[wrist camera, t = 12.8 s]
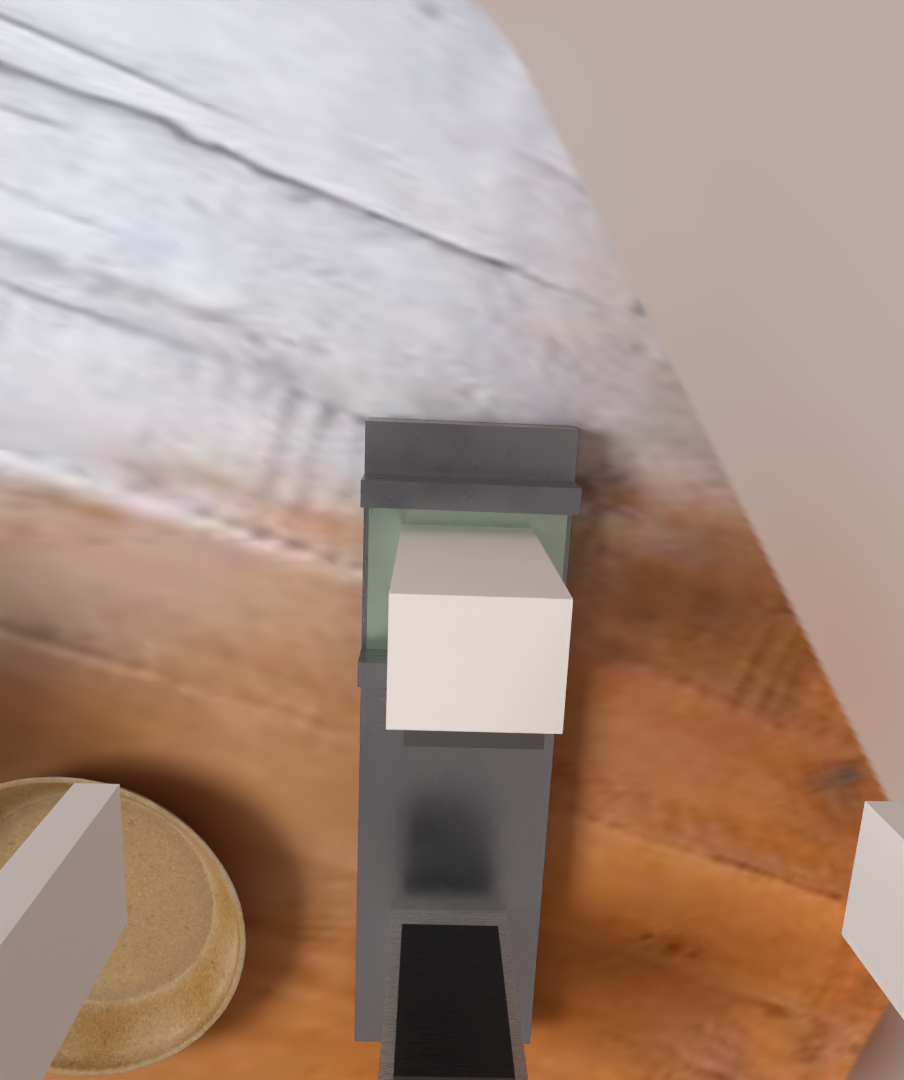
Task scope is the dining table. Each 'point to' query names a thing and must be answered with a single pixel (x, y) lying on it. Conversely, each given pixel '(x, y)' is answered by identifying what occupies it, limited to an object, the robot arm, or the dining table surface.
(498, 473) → the rail
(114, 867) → the robot arm
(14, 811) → the plant saucer
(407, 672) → the block
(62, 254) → the dining table surface
